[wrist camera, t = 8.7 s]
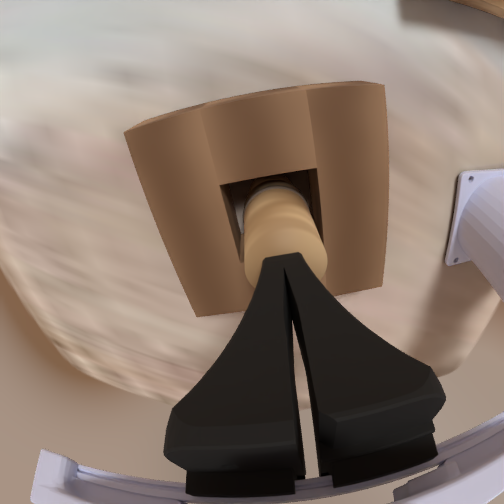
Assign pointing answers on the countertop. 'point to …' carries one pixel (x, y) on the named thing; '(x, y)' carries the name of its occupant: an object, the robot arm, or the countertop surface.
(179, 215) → the walnut block
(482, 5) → the chock rails
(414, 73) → the countertop surface
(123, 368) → the countertop surface
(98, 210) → the countertop surface
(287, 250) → the peg
